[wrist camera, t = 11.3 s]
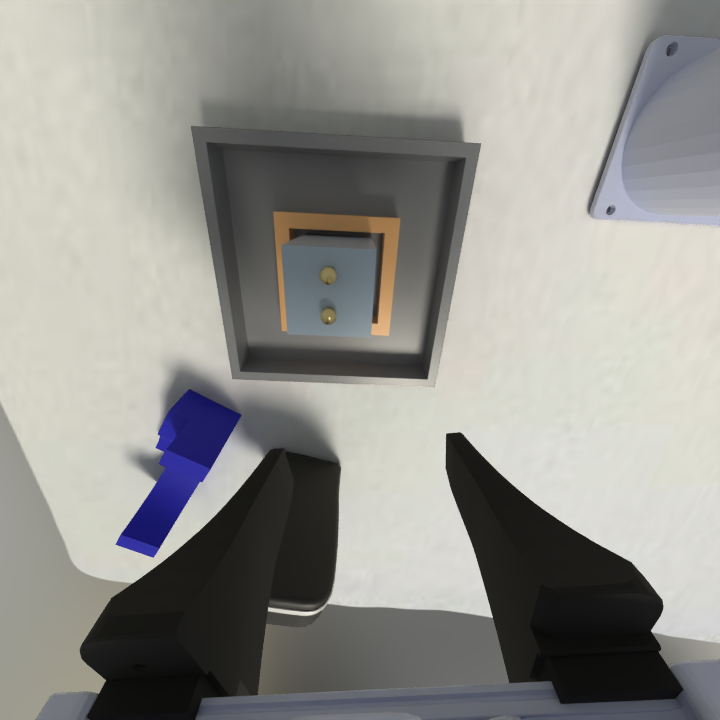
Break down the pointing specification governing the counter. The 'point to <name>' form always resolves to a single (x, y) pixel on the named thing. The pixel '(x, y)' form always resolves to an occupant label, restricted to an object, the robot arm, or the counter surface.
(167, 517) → the cable clip
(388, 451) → the counter surface
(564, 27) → the counter surface
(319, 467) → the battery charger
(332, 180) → the box
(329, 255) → the connector plug
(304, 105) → the counter surface
